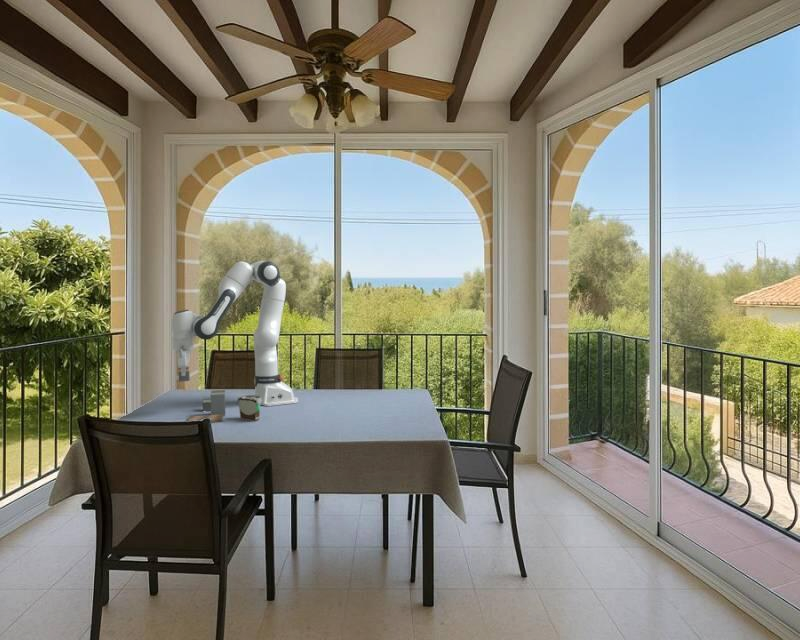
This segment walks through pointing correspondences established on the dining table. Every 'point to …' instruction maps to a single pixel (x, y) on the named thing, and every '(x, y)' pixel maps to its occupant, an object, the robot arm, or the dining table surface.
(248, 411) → the food container
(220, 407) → the grey upright block
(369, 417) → the dining table surface
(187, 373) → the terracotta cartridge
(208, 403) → the grey cartridge
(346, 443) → the dining table surface
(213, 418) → the pad
